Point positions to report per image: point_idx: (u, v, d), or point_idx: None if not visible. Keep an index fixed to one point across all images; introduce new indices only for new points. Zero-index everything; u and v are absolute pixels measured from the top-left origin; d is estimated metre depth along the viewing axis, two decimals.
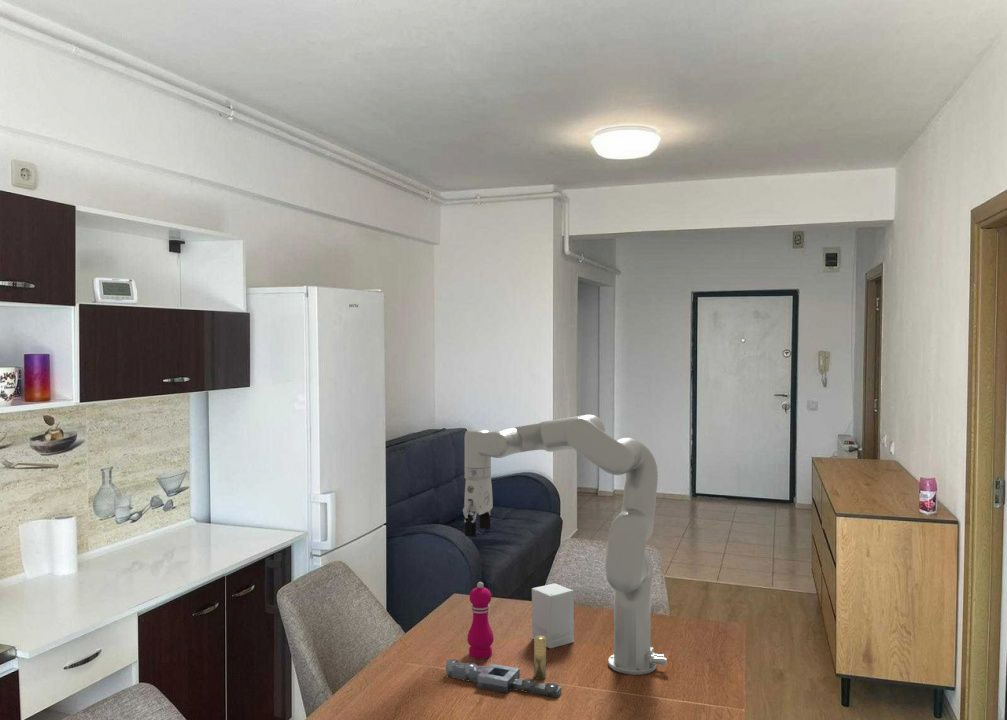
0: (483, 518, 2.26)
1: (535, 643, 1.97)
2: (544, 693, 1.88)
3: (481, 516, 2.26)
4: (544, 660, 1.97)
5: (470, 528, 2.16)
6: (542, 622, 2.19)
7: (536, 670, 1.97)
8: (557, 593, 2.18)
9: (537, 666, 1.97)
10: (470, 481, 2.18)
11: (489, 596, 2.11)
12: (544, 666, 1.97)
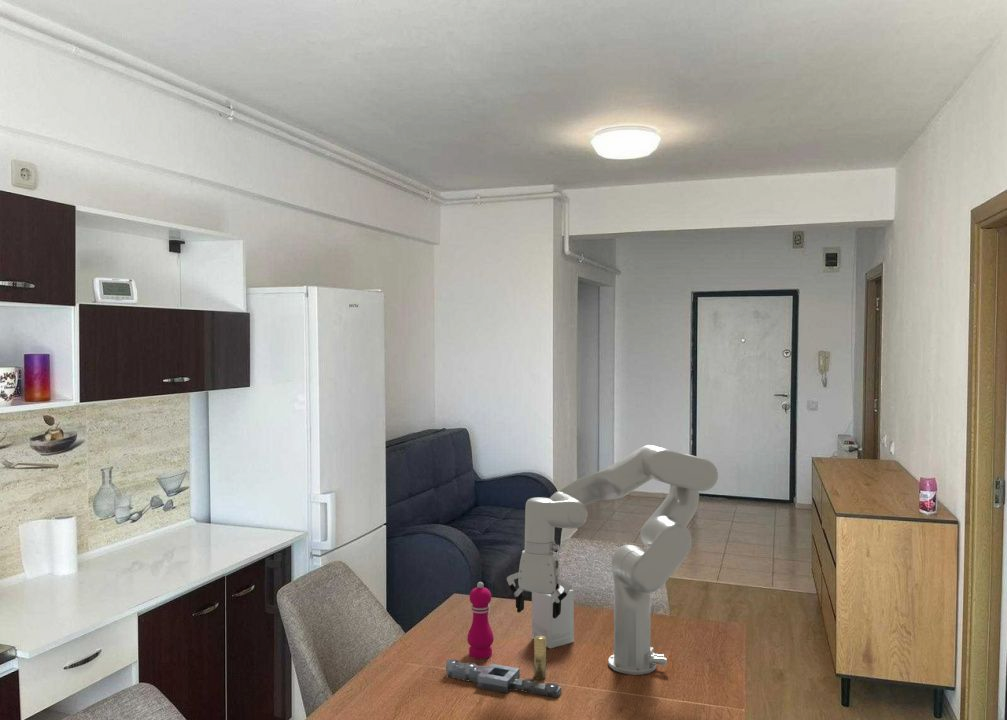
0: (521, 599, 1.99)
1: (535, 643, 1.97)
2: (544, 693, 1.88)
3: (520, 598, 1.99)
4: (544, 660, 1.97)
5: (560, 607, 1.96)
6: (542, 622, 2.19)
7: (536, 670, 1.97)
8: None
9: (537, 666, 1.97)
10: (555, 556, 1.95)
11: (489, 596, 2.11)
12: (544, 666, 1.97)
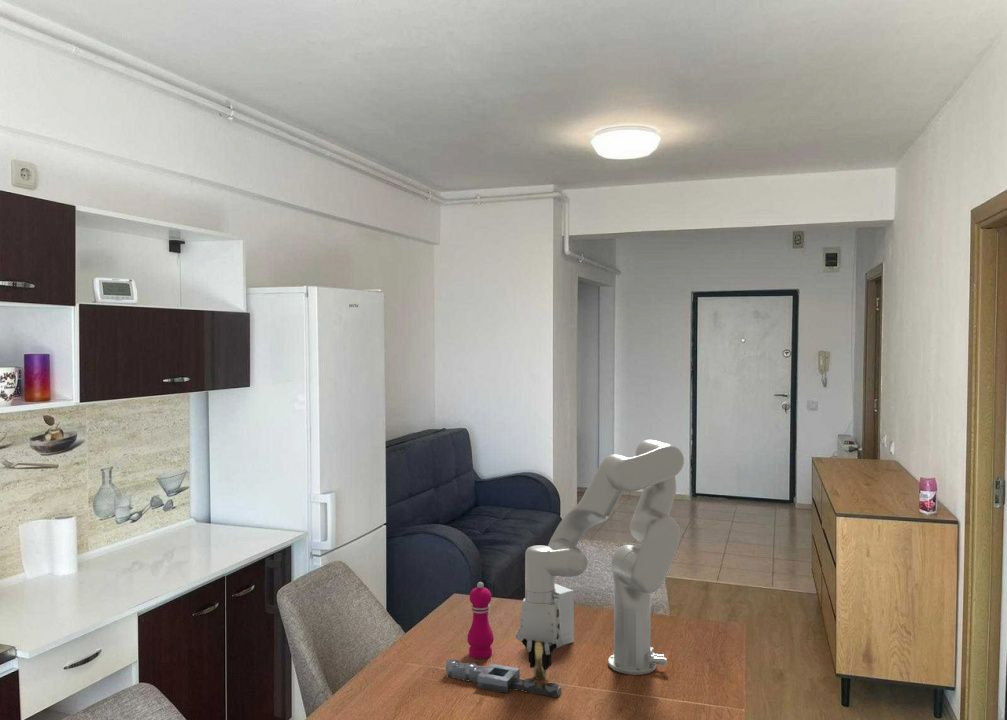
0: None
1: (535, 643, 1.97)
2: (544, 693, 1.88)
3: (533, 653, 1.98)
4: None
5: (551, 658, 1.97)
6: None
7: (536, 670, 1.97)
8: None
9: (537, 666, 1.97)
10: (556, 604, 1.96)
11: (489, 596, 2.11)
12: None
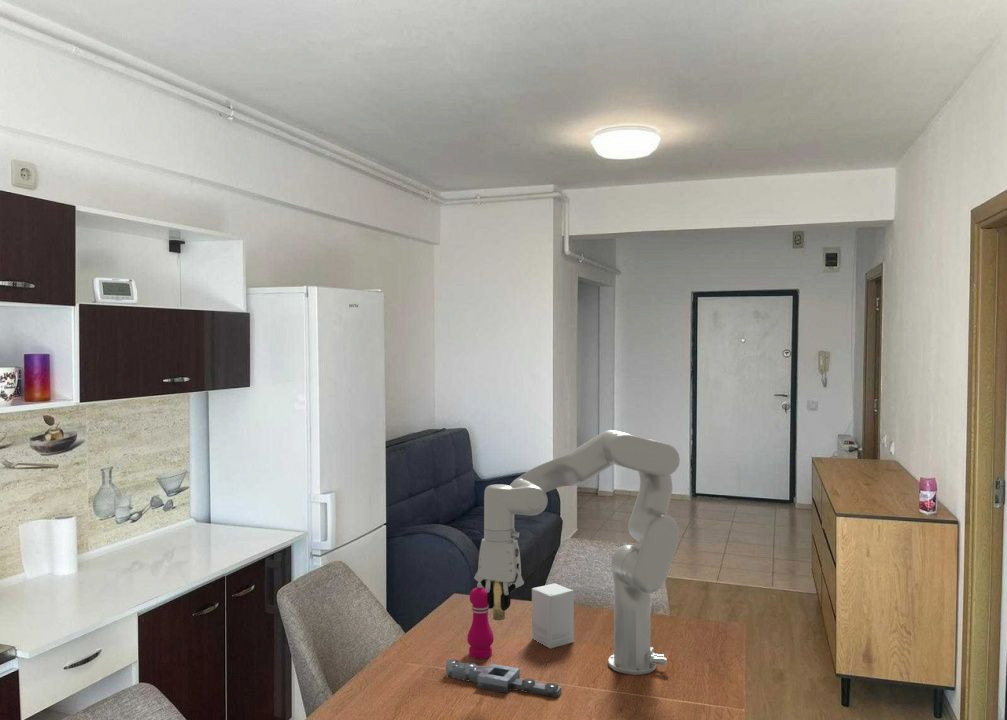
0: None
1: (494, 583, 1.93)
2: (544, 693, 1.88)
3: (492, 594, 1.93)
4: None
5: (510, 599, 1.93)
6: (542, 622, 2.19)
7: (494, 611, 1.92)
8: (557, 593, 2.18)
9: (495, 607, 1.92)
10: (515, 544, 1.91)
11: None
12: None
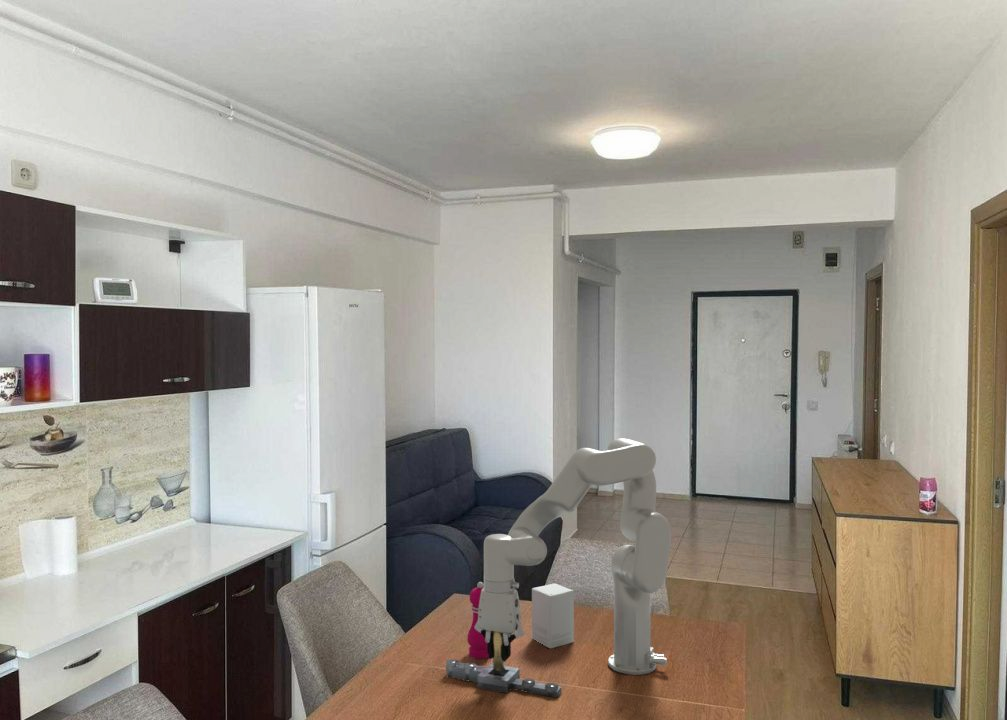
0: None
1: (494, 634, 1.93)
2: (544, 693, 1.88)
3: (492, 644, 1.93)
4: None
5: (510, 649, 1.93)
6: (542, 622, 2.19)
7: (495, 661, 1.93)
8: (557, 593, 2.18)
9: (495, 658, 1.92)
10: (514, 594, 1.92)
11: None
12: None
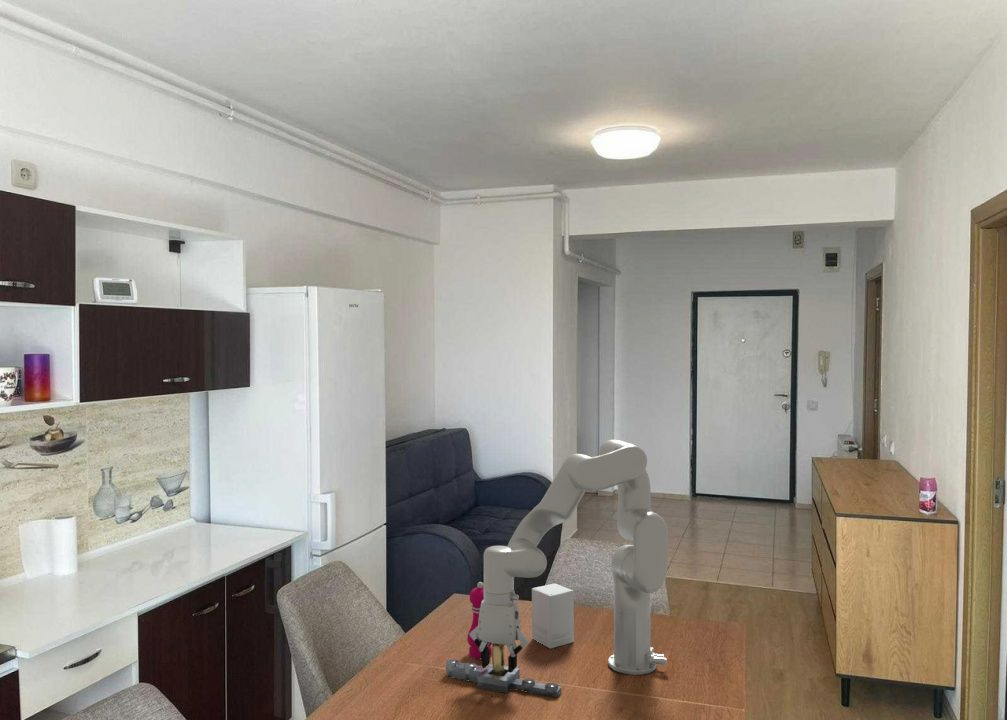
0: (486, 654, 1.95)
1: (493, 649, 1.93)
2: (544, 693, 1.88)
3: (485, 653, 1.94)
4: (502, 667, 1.93)
5: (516, 660, 1.92)
6: (542, 622, 2.19)
7: None
8: (557, 593, 2.18)
9: (495, 673, 1.93)
10: (514, 606, 1.92)
11: None
12: (503, 673, 1.93)
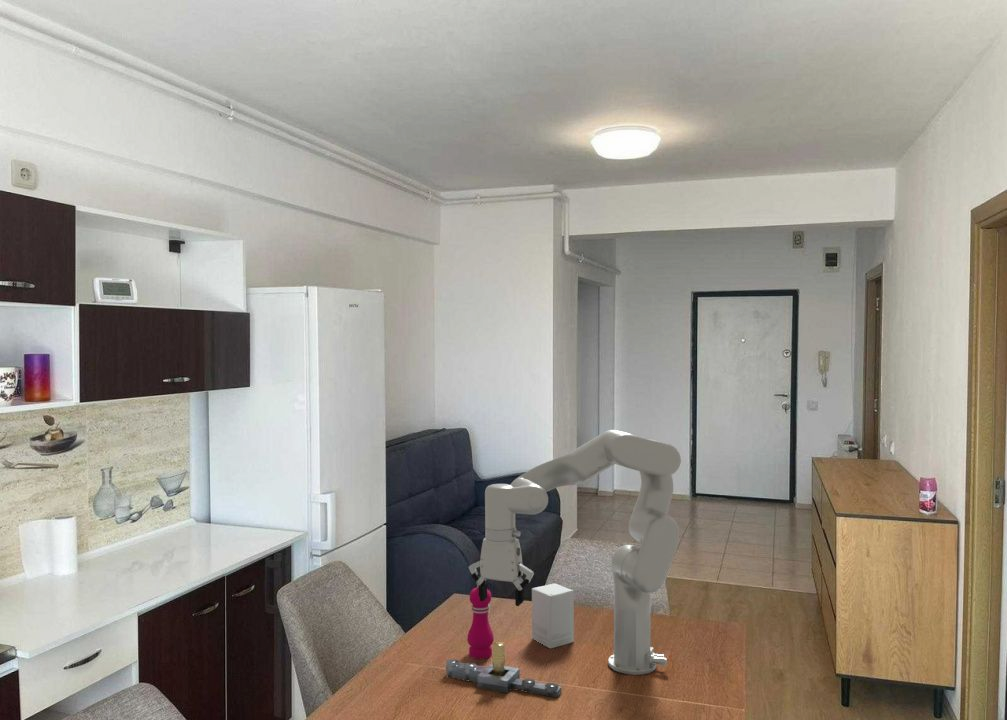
0: (484, 588, 1.95)
1: (493, 650, 1.93)
2: (544, 693, 1.88)
3: (483, 587, 1.95)
4: (503, 667, 1.93)
5: (523, 594, 1.92)
6: (542, 622, 2.19)
7: None
8: (557, 593, 2.18)
9: (495, 673, 1.93)
10: (516, 543, 1.92)
11: (489, 596, 2.11)
12: (503, 673, 1.93)
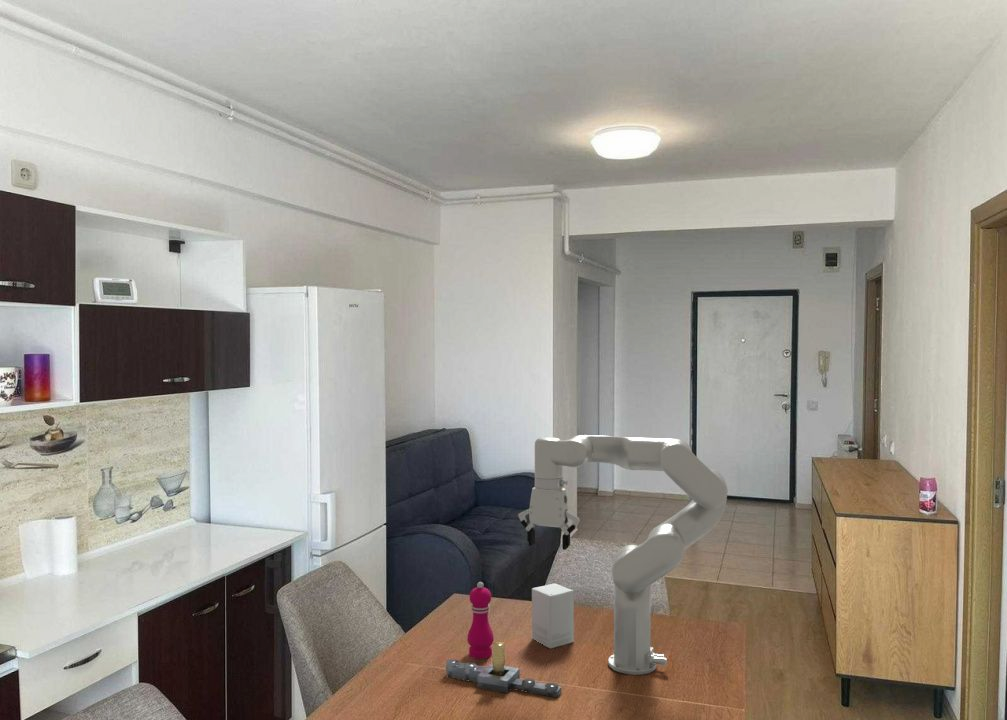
0: (532, 534, 2.11)
1: (493, 650, 1.93)
2: (544, 693, 1.88)
3: (532, 532, 2.10)
4: (503, 667, 1.93)
5: (569, 539, 2.07)
6: (542, 622, 2.19)
7: None
8: (557, 593, 2.18)
9: (495, 673, 1.93)
10: (563, 491, 2.07)
11: (489, 596, 2.11)
12: (503, 673, 1.93)
